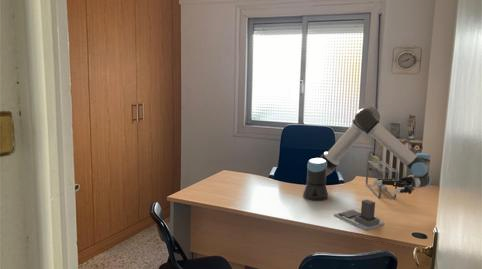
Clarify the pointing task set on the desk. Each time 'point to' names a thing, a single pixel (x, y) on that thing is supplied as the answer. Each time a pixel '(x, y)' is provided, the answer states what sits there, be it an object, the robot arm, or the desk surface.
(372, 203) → the brick
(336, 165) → the robot arm
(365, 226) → the charging dock
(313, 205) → the desk surface
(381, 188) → the newton's cradle
